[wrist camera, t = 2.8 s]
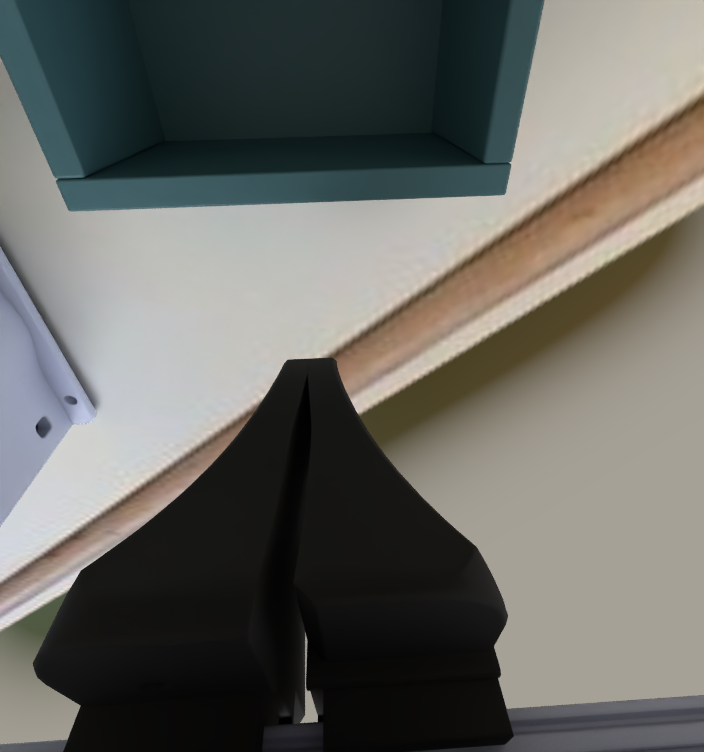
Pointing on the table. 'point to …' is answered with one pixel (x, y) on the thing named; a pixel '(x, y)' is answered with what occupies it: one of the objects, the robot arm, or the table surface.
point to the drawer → (271, 97)
